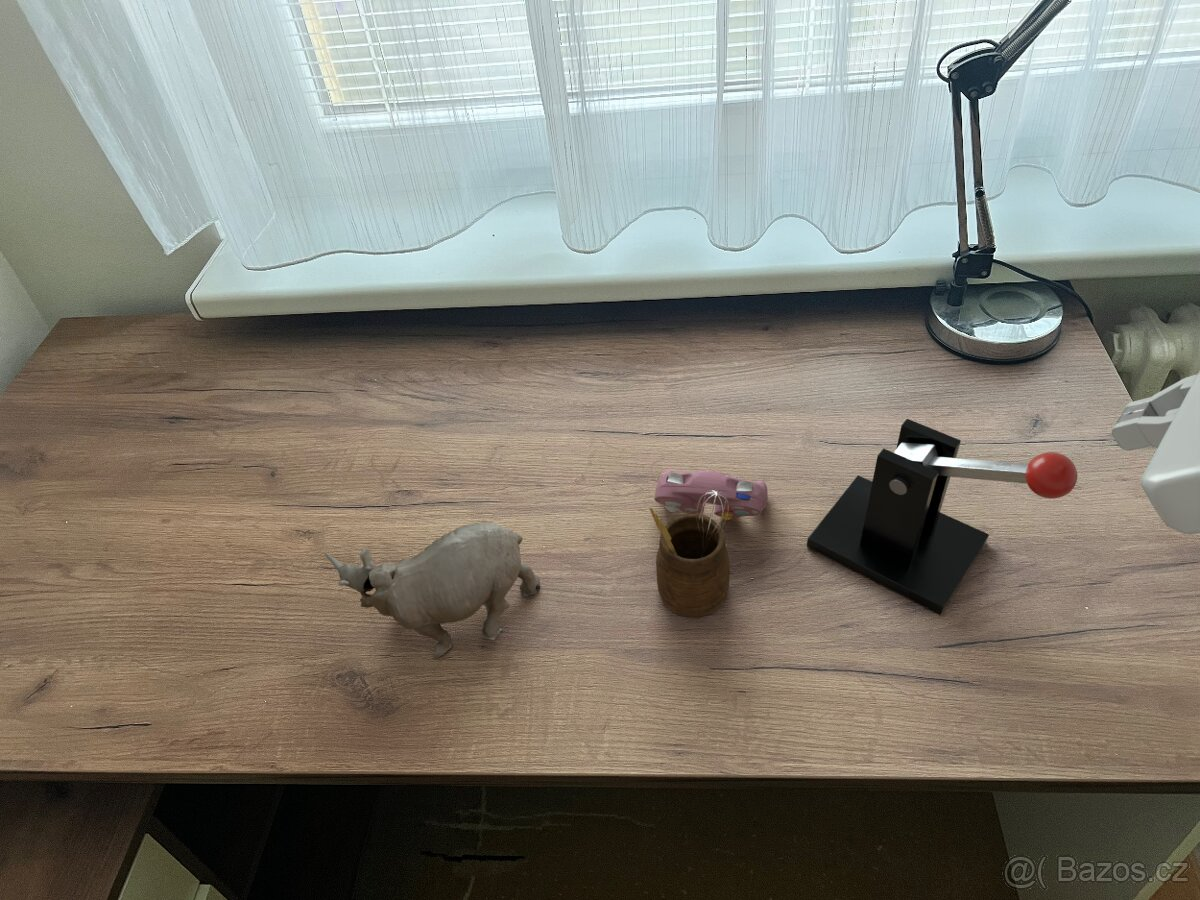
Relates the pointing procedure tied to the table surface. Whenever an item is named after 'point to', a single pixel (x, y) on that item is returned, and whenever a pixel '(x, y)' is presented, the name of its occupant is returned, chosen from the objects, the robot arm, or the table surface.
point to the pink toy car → (711, 493)
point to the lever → (1001, 469)
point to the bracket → (902, 526)
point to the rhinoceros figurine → (445, 581)
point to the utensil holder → (692, 563)
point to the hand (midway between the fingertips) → (1123, 427)
